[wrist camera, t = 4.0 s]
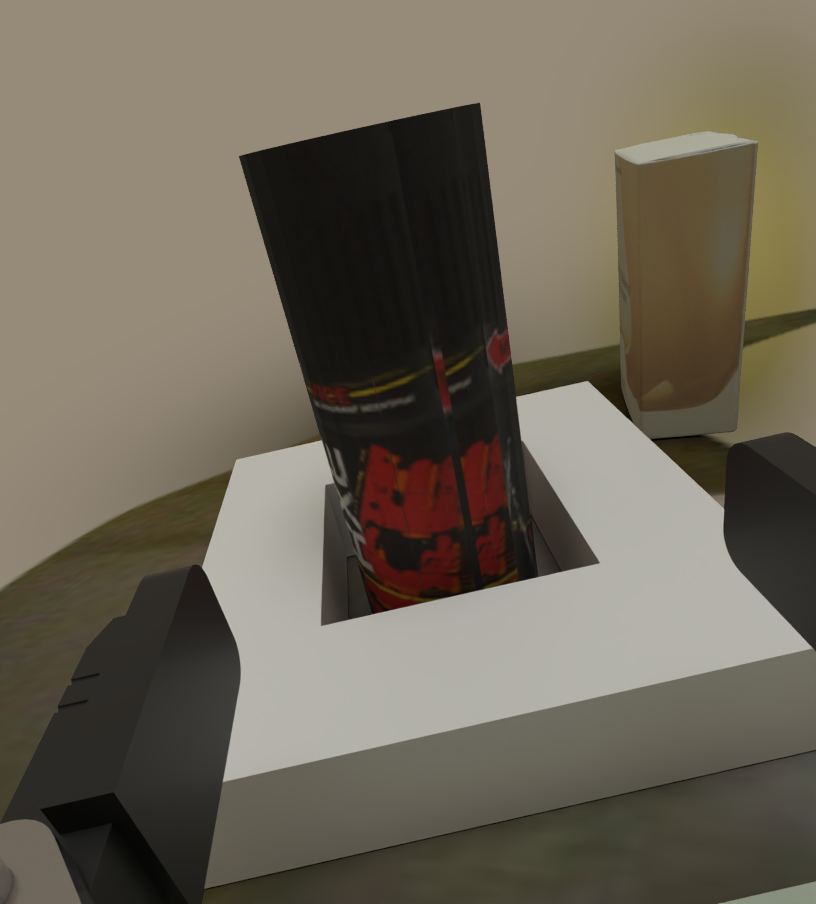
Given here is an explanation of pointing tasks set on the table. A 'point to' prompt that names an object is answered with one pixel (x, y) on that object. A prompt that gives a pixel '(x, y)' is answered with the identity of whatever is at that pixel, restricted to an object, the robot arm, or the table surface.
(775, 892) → the mat
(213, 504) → the table surface
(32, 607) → the table surface
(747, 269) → the skincare box
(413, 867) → the table surface
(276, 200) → the deodorant
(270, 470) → the socket block
